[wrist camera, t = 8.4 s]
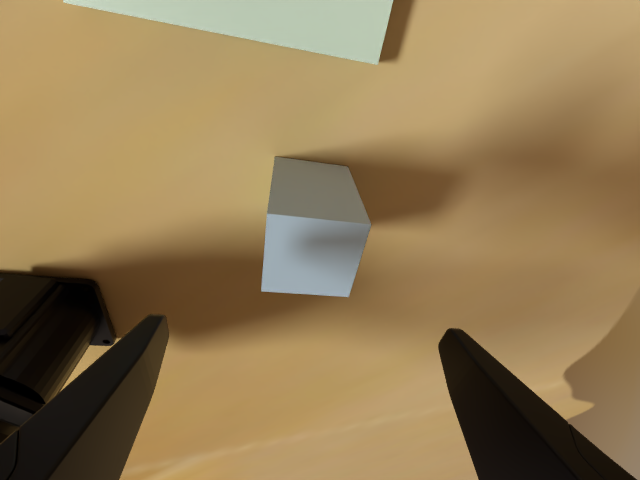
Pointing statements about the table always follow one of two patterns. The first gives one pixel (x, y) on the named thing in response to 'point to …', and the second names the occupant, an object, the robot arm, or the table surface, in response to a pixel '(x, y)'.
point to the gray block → (313, 229)
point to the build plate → (274, 21)
